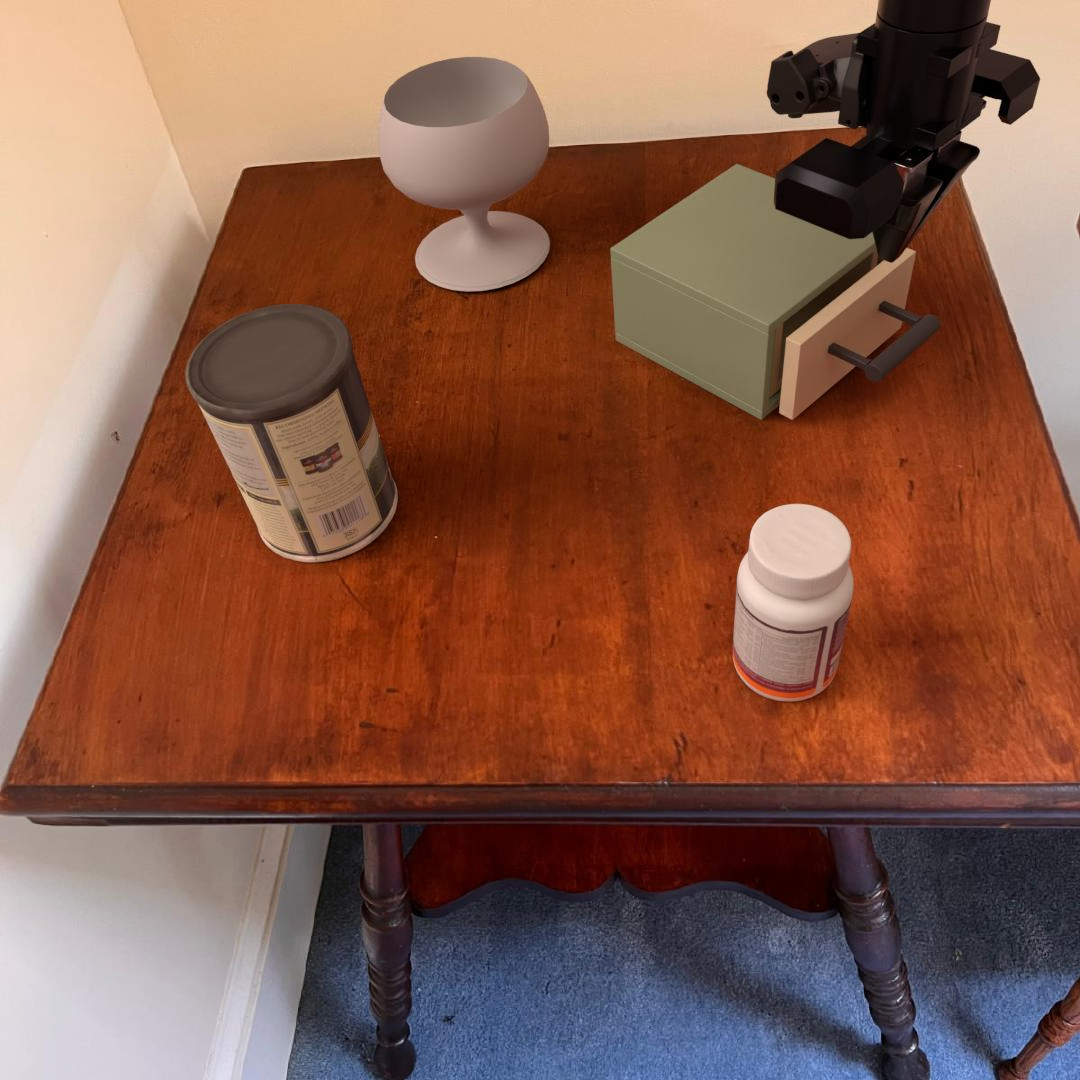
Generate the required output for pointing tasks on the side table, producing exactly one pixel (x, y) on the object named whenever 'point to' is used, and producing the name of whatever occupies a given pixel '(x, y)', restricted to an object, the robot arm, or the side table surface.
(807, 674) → the pill bottle
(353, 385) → the coffee can
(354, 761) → the side table surface
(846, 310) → the drawer
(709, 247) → the cabinet
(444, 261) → the chalice
